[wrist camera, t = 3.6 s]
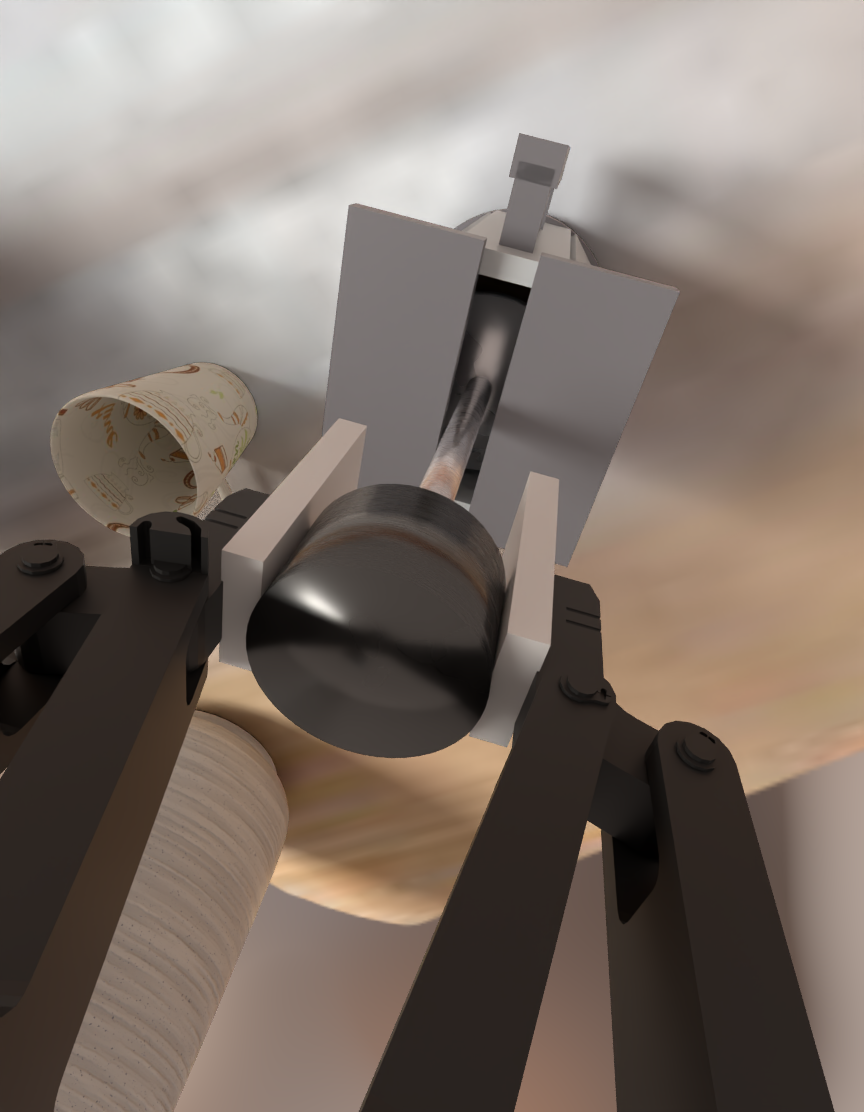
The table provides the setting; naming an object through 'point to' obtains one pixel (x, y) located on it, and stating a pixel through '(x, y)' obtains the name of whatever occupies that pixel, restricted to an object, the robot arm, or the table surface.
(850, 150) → the table surface
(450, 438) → the plunger
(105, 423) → the mug
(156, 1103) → the vase
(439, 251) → the grey french press
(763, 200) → the table surface
